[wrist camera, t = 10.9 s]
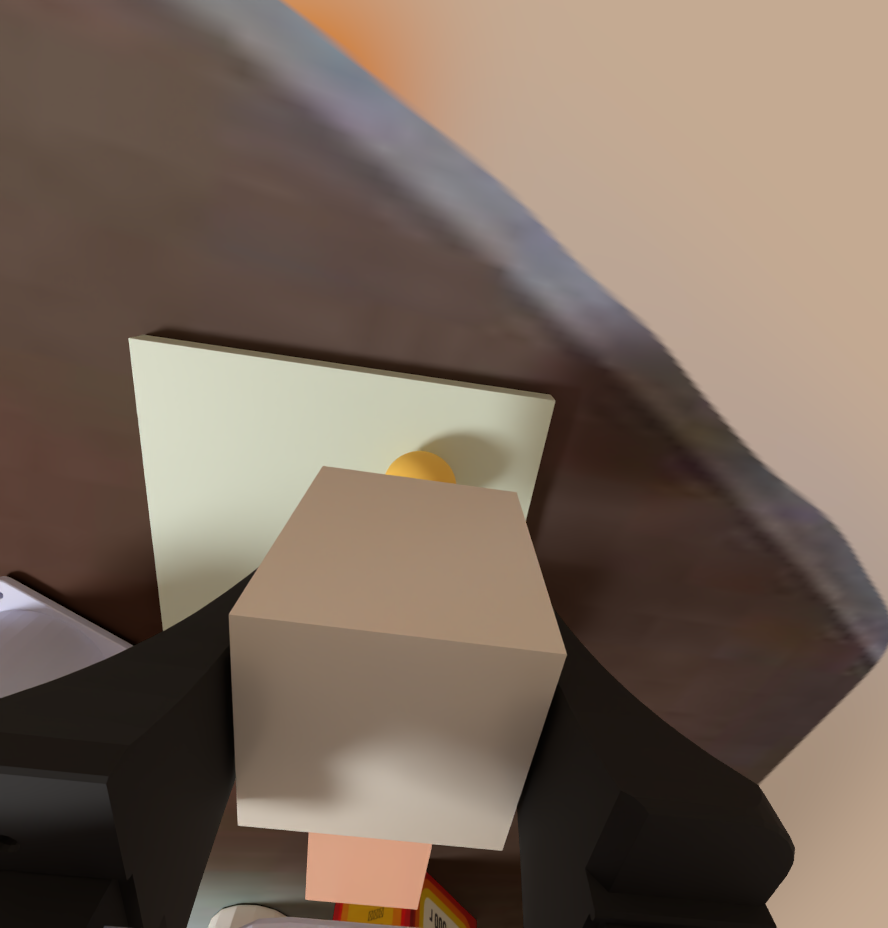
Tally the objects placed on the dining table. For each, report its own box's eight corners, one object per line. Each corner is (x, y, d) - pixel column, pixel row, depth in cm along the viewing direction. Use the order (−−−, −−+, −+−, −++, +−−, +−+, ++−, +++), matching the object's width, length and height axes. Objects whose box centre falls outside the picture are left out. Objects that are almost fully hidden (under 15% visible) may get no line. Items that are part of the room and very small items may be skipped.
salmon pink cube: (423, 784, 28) (417, 909, 23) (333, 775, 28) (305, 899, 22) (435, 722, 26) (432, 843, 21) (338, 711, 26) (308, 832, 20)
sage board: (456, 784, 30) (456, 800, 29) (188, 756, 29) (179, 772, 28) (550, 394, 20) (555, 400, 19) (144, 334, 19) (128, 338, 18)
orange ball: (425, 515, 21) (422, 553, 18) (373, 475, 20) (361, 508, 17) (470, 469, 20) (473, 502, 17) (417, 426, 19) (412, 453, 16)
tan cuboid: (482, 639, 15) (502, 851, 10) (315, 619, 15) (238, 825, 9) (516, 492, 13) (567, 654, 8) (322, 465, 13) (228, 614, 7)
